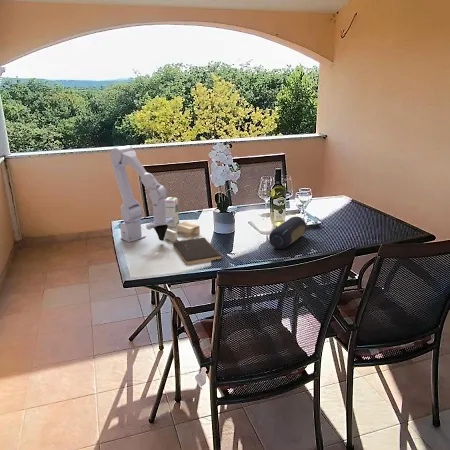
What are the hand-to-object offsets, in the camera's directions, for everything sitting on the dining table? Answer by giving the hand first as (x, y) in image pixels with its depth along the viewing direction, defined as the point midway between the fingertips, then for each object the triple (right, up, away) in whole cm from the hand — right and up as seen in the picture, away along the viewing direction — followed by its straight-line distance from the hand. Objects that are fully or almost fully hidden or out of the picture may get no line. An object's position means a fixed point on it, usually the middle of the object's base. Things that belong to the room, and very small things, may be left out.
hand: (161, 239), depth 201 cm
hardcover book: (+17, -6, -10) cm, 20 cm away
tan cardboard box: (+8, +1, +8) cm, 12 cm away
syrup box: (+2, +7, +24) cm, 26 cm away
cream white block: (+5, 0, +4) cm, 7 cm away
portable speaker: (+59, -1, -1) cm, 59 cm away
